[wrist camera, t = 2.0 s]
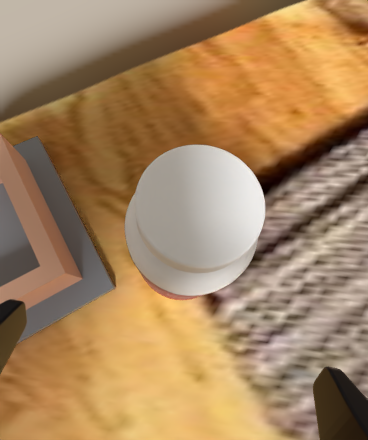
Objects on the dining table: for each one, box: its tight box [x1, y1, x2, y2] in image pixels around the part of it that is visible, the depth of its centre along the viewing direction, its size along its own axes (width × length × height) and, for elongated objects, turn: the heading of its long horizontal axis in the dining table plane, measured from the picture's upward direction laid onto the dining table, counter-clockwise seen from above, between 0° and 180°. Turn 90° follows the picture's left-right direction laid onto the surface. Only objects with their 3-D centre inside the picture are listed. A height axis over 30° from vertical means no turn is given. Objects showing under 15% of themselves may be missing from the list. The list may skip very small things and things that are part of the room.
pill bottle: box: [125, 145, 265, 300], centre depth 15 cm, size 6×6×11 cm
